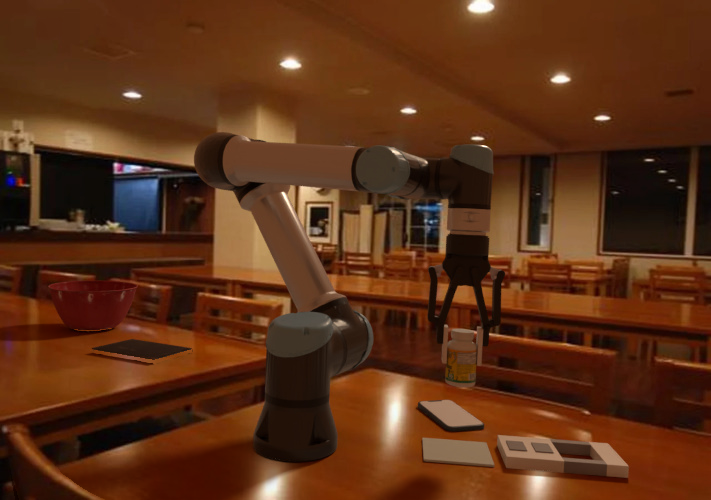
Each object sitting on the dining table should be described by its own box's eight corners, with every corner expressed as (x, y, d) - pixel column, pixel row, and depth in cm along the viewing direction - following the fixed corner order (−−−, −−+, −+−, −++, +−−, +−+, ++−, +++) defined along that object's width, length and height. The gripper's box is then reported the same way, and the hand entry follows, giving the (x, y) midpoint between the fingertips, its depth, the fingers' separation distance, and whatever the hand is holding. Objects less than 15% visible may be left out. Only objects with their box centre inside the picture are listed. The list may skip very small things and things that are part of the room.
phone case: (486, 432, 114) (450, 405, 130) (487, 424, 114) (451, 398, 130) (447, 435, 112) (415, 408, 127) (448, 427, 112) (415, 401, 127)
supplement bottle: (477, 388, 98) (481, 334, 98) (447, 387, 98) (450, 332, 98) (471, 380, 104) (474, 328, 103) (442, 378, 104) (445, 327, 103)
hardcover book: (153, 366, 153) (153, 358, 153) (91, 355, 162) (91, 347, 162) (192, 355, 167) (192, 347, 167) (133, 345, 176) (133, 338, 176)
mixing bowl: (143, 333, 193) (144, 288, 192) (48, 339, 178) (49, 290, 178) (130, 319, 217) (131, 280, 216) (46, 323, 203) (46, 280, 202)
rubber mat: (423, 461, 97) (423, 459, 97) (422, 439, 107) (422, 437, 107) (494, 467, 96) (494, 464, 96) (486, 444, 106) (486, 442, 106)
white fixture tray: (506, 468, 96) (506, 455, 96) (497, 445, 106) (497, 433, 106) (628, 477, 94) (629, 465, 94) (607, 453, 104) (607, 442, 104)
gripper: (416, 231, 97) (409, 364, 98) (525, 236, 95) (517, 371, 96) (415, 231, 104) (409, 354, 105) (516, 235, 103) (509, 361, 104)
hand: (461, 362), depth 101 cm, fingers closed on supplement bottle, 5 cm apart
